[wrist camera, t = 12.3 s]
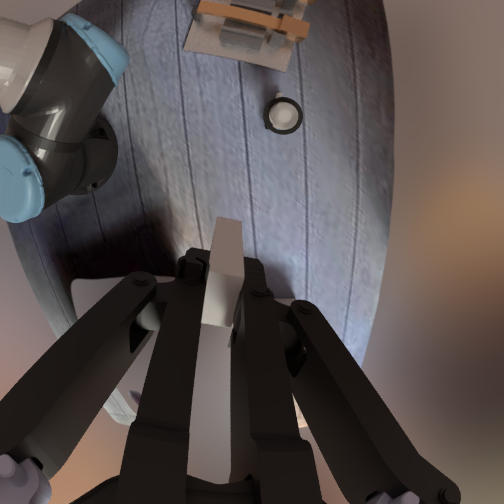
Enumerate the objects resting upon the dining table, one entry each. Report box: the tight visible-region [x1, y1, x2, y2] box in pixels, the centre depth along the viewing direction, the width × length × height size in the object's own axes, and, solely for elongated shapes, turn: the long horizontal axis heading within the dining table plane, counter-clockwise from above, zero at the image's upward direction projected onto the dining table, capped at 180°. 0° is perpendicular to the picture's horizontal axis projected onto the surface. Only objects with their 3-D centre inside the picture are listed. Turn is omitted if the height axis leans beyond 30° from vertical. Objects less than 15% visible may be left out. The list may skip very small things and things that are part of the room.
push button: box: [263, 93, 303, 135], centre depth 39 cm, size 7×5×10 cm
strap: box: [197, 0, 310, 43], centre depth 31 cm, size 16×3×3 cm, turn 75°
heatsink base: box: [183, 0, 307, 73], centre depth 31 cm, size 17×21×7 cm
